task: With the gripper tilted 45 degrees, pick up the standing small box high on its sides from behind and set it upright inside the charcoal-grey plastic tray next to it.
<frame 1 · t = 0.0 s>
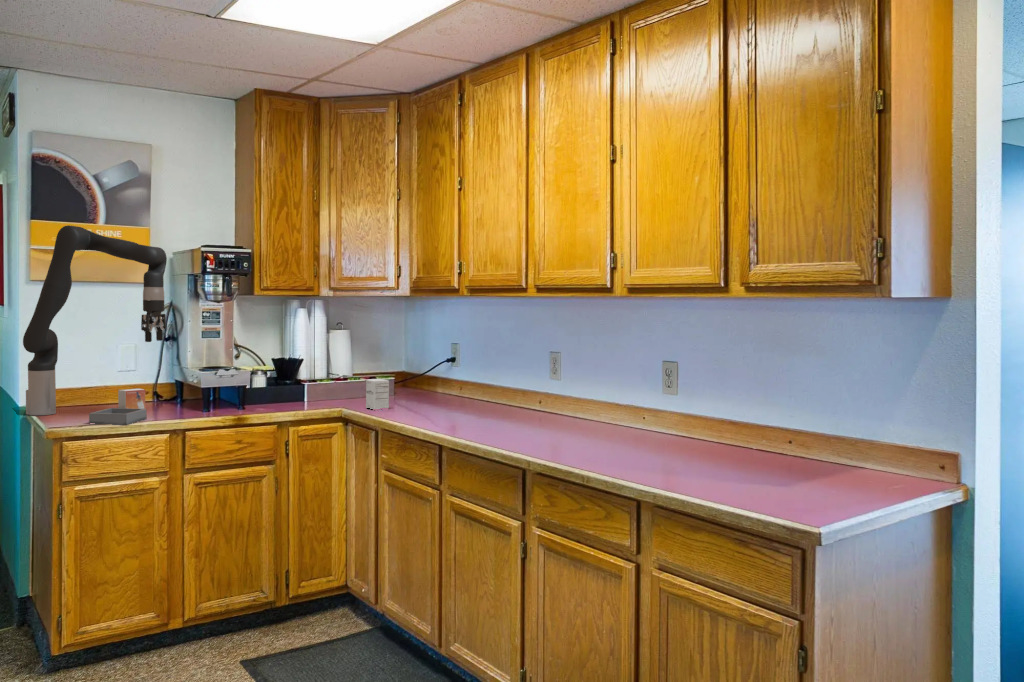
hand: (154, 341, 309), 29 cm above the counter, tool pointing down, fingers open, 8 cm apart
small box: (131, 417, 311), on the counter
grey tray: (118, 421, 298), on the counter
supplement box: (377, 409, 341), on the counter
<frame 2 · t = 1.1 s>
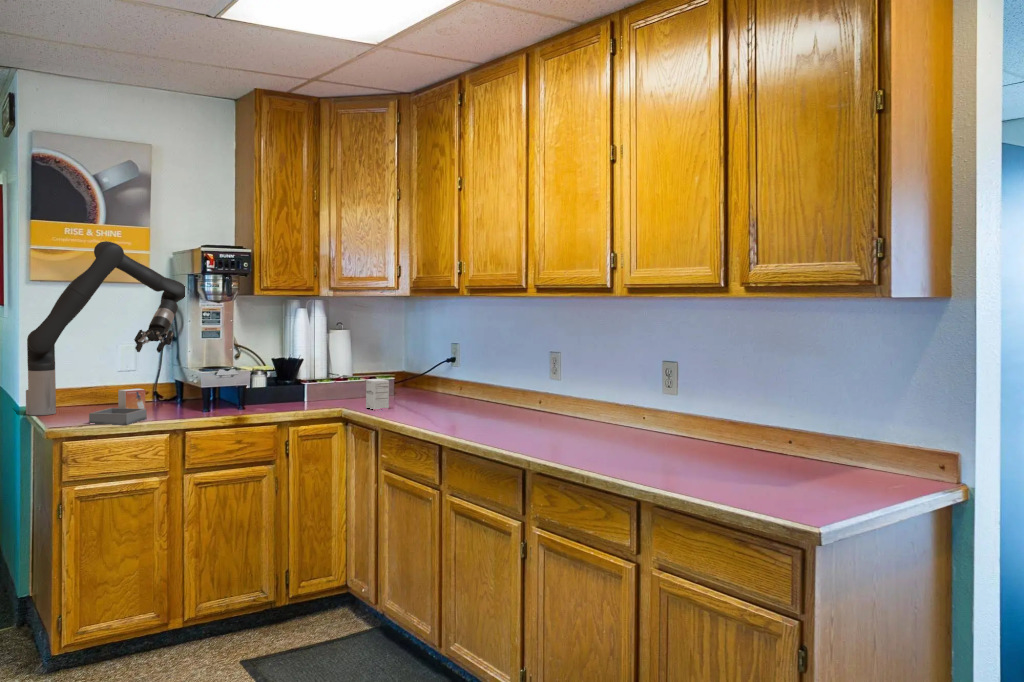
hand: (147, 351, 322), 24 cm above the counter, tool tilted 45°, fingers open, 8 cm apart
nothing on the counter moved.
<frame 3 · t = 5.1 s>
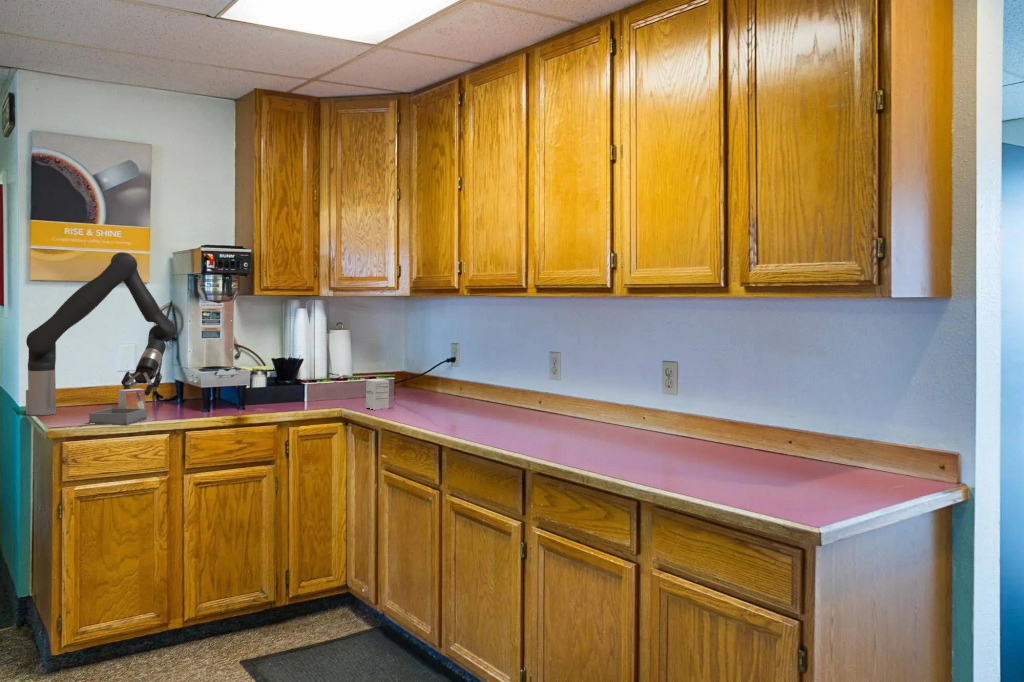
hand: (135, 394, 312), 8 cm above the counter, tool tilted 45°, fingers open, 8 cm apart
small box: (131, 417, 311), on the counter, touching gripper
everything else where it was.
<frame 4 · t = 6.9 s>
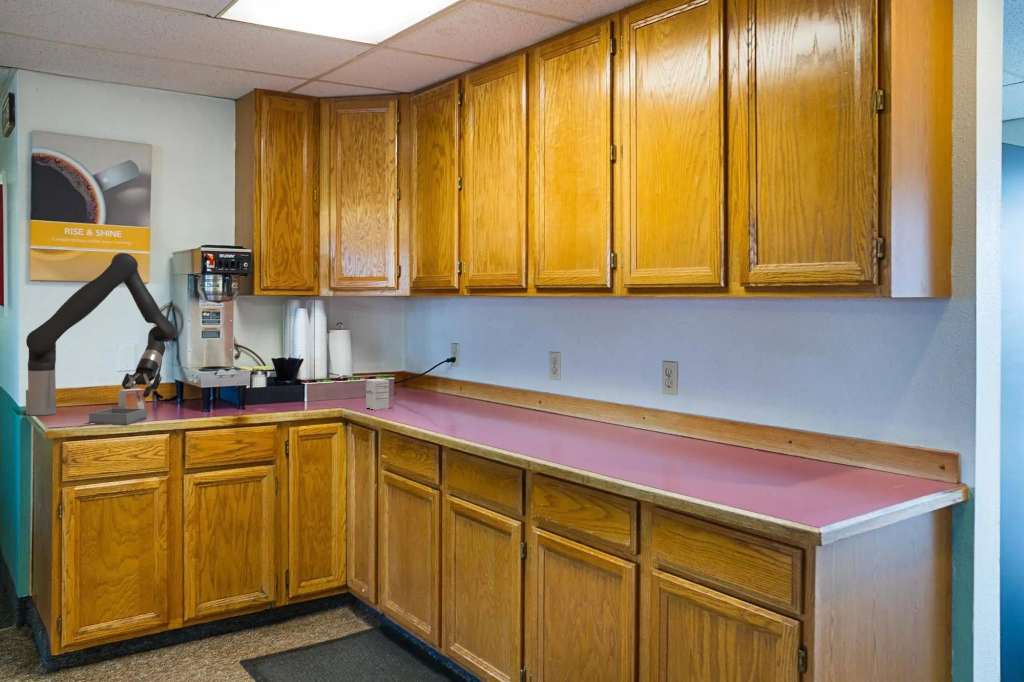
hand: (135, 396, 312), 8 cm above the counter, tool tilted 45°, fingers closed on small box, 7 cm apart
small box: (131, 416, 311), on the counter, touching gripper
everything else where it was.
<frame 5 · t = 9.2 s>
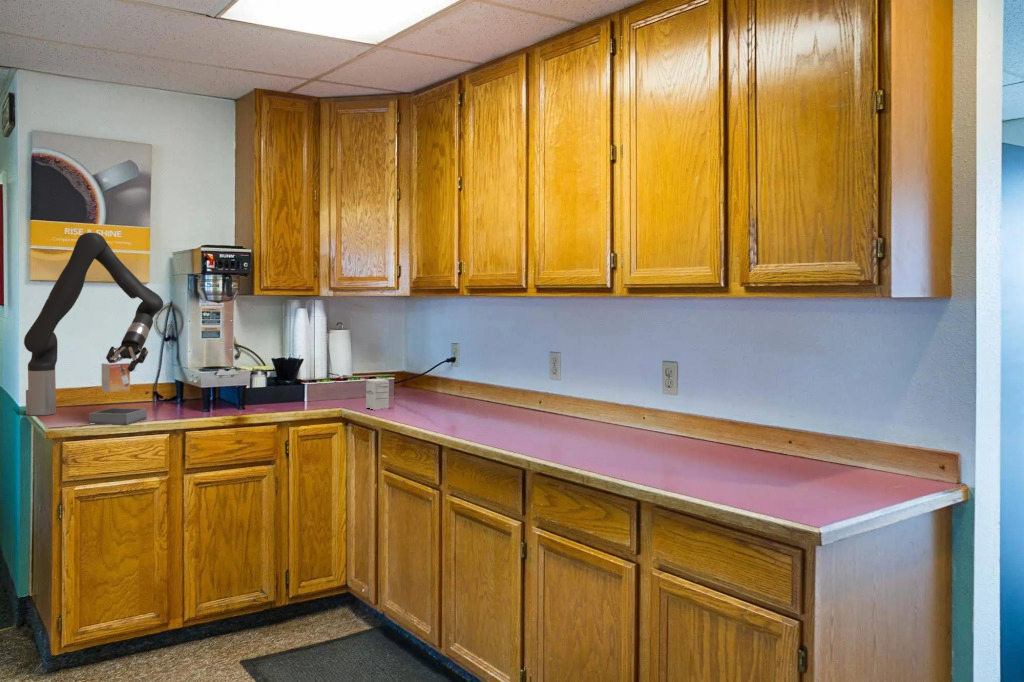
hand: (119, 370, 298), 19 cm above the counter, tool tilted 45°, fingers closed on small box, 7 cm apart
small box: (116, 391, 297), point 11 cm above the counter, touching gripper
everything else where it was.
when the fingers open (10 cm above the counter, at t = 11.9 s): small box stays where it is, resting on grey tray.
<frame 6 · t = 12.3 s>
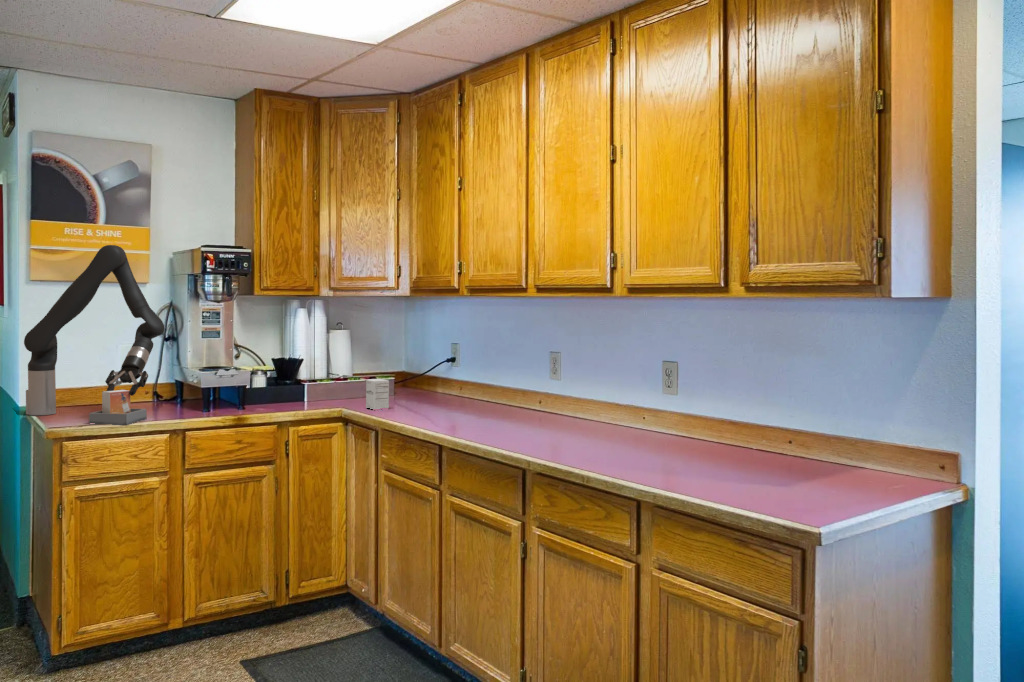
hand: (119, 394, 298), 10 cm above the counter, tool tilted 45°, fingers open, 8 cm apart
small box: (116, 419, 298), point 1 cm above the counter, touching grey tray
everything else where it was.
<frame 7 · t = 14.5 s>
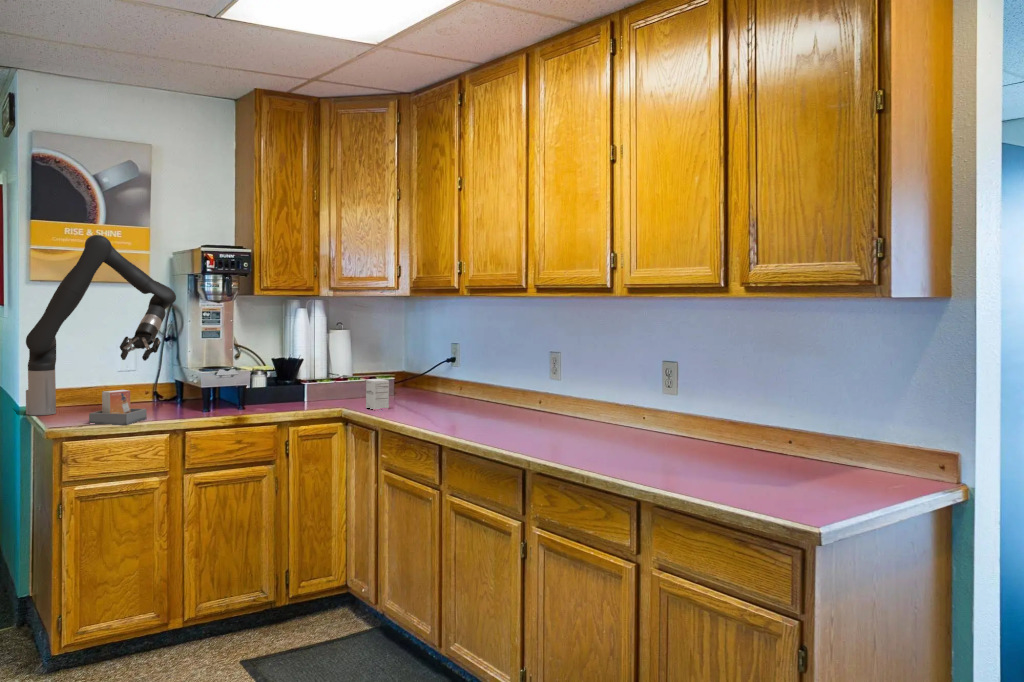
hand: (133, 358, 310), 22 cm above the counter, tool tilted 45°, fingers open, 8 cm apart
nothing on the counter moved.
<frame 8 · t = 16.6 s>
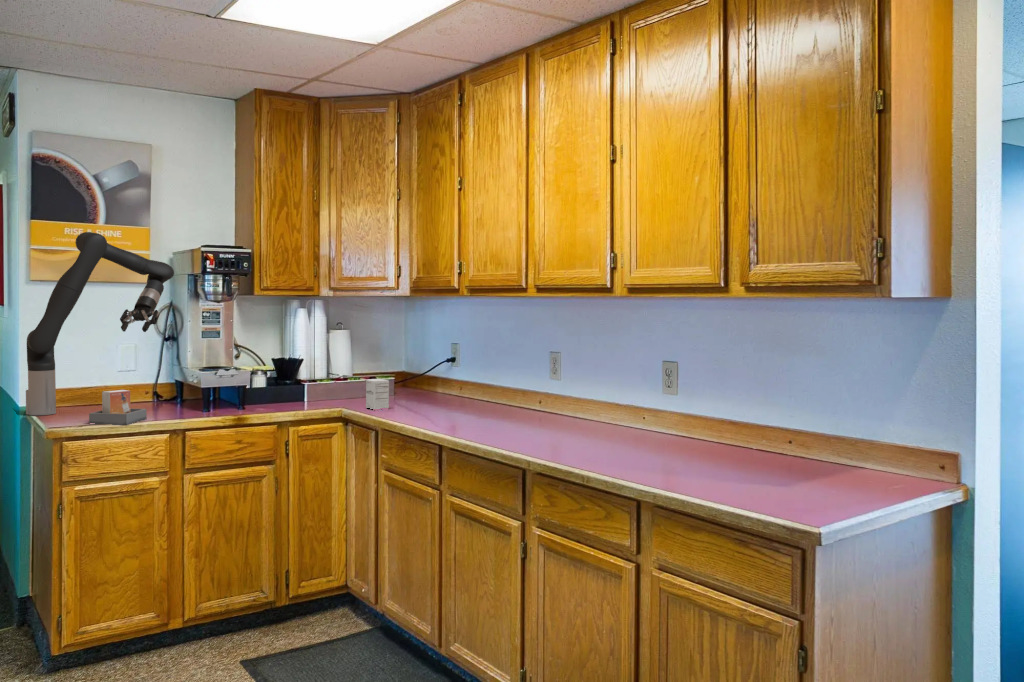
hand: (133, 330, 322), 33 cm above the counter, tool tilted 45°, fingers open, 8 cm apart
nothing on the counter moved.
at the end: small box inside the target area on the grey tray (0.7 cm from its centre), point 0.8 cm above the grey tray's base; small box tilted 0°; the gripper is holding nothing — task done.
